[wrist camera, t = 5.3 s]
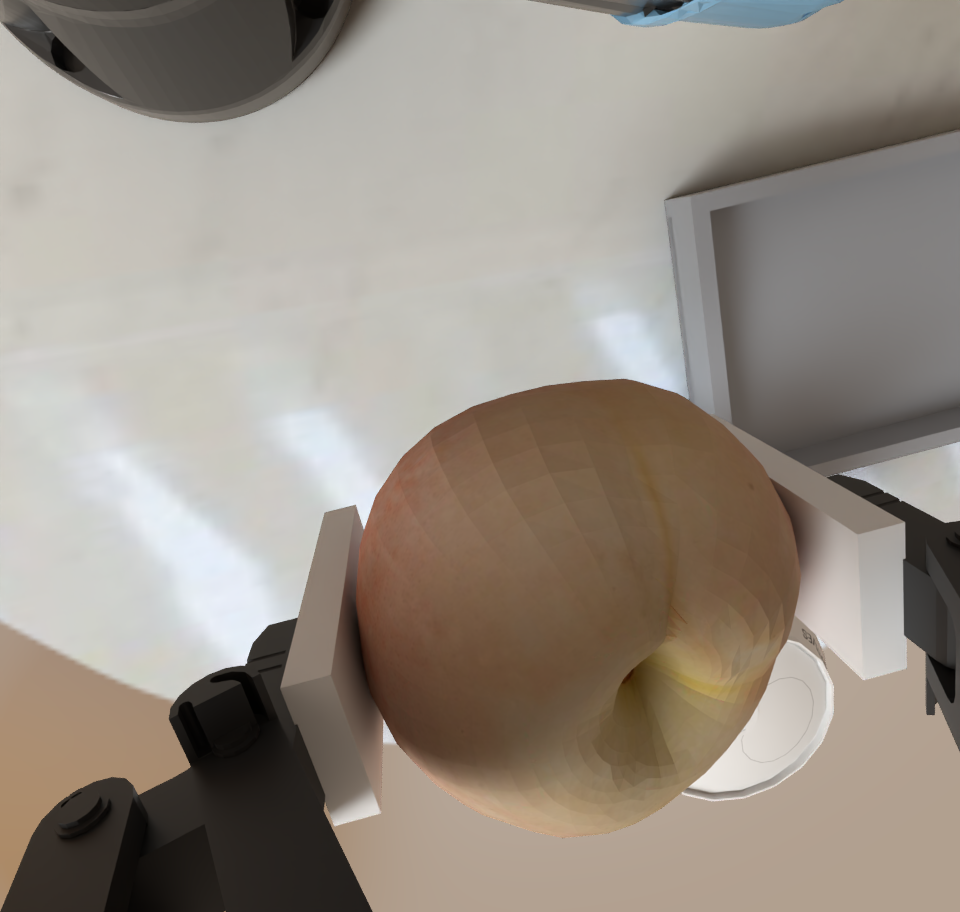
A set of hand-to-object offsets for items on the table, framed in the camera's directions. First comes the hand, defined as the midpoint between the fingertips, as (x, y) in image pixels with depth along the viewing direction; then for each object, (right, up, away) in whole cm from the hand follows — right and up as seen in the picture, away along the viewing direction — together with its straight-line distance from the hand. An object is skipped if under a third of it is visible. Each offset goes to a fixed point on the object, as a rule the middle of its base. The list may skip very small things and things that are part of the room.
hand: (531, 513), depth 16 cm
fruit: (0, 0, 0) cm, 1 cm away
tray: (+18, +9, +19) cm, 28 cm away
